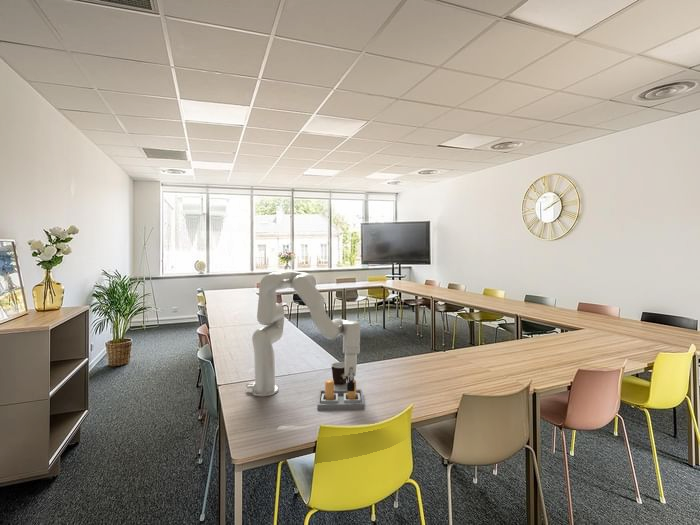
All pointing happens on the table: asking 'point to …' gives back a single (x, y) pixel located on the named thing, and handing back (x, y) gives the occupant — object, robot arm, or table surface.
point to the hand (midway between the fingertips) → (350, 386)
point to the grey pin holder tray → (340, 400)
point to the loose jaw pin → (352, 393)
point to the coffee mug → (339, 373)
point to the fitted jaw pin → (329, 390)
